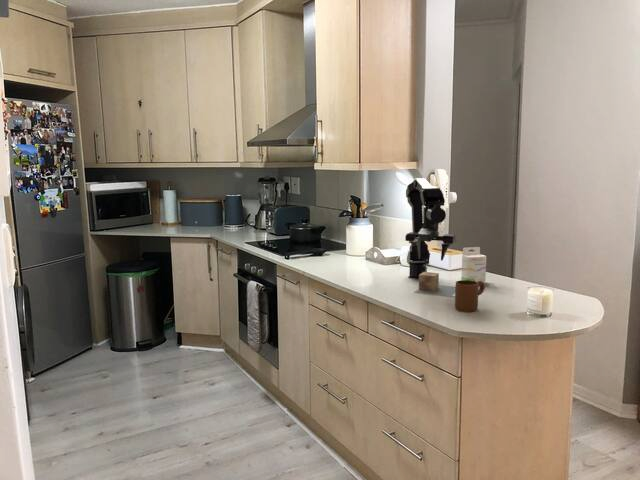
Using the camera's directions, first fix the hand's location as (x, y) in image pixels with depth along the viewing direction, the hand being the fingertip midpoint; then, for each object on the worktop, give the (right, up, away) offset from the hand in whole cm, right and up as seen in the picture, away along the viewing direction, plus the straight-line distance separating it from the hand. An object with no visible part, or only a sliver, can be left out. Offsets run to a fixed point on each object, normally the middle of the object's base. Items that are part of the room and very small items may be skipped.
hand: (430, 259), depth 205 cm
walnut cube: (0, -12, +2) cm, 12 cm away
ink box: (+20, -10, +11) cm, 25 cm away
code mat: (+6, -12, -2) cm, 14 cm away
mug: (+9, -16, -24) cm, 30 cm away
